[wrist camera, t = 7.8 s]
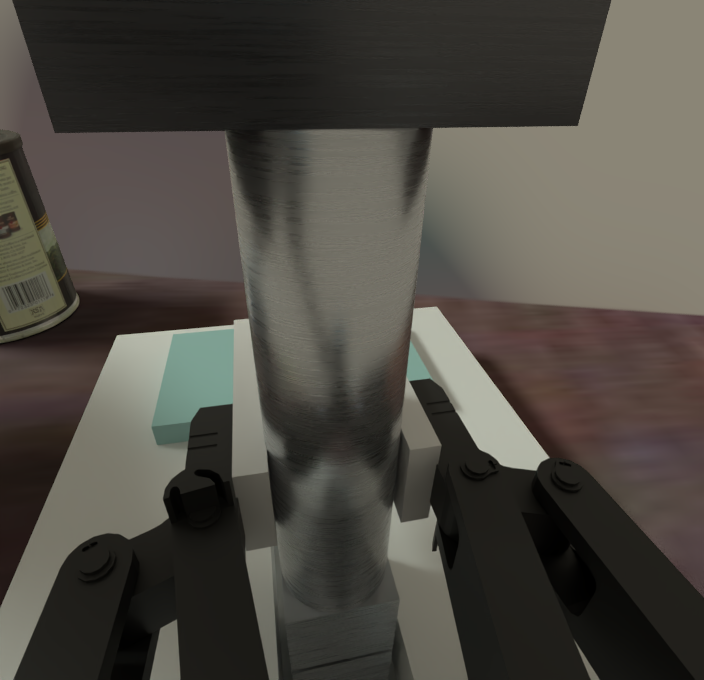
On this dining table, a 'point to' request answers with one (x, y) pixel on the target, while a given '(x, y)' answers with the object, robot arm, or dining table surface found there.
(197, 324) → the dining table surface
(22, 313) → the coffee can
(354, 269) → the t key
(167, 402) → the cover
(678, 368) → the dining table surface
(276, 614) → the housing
